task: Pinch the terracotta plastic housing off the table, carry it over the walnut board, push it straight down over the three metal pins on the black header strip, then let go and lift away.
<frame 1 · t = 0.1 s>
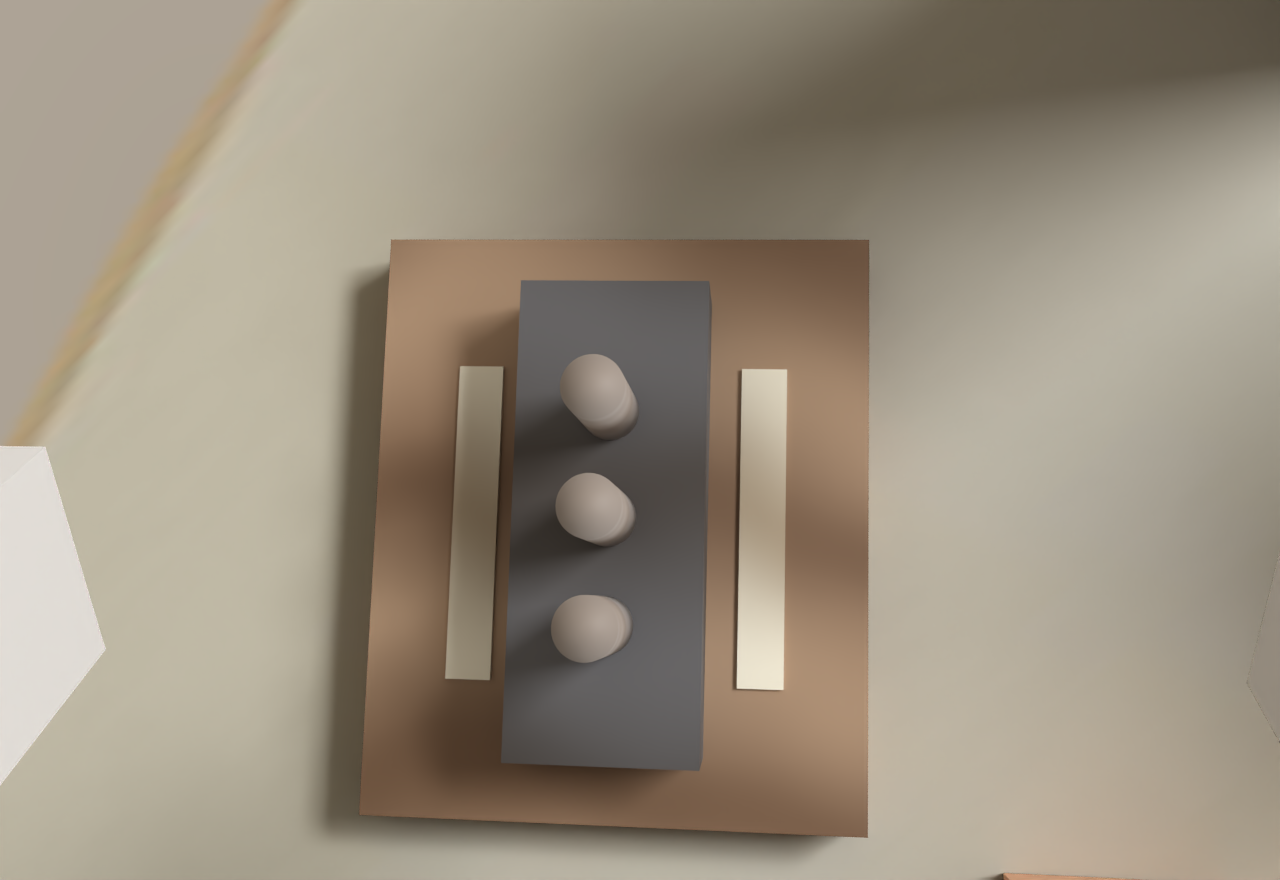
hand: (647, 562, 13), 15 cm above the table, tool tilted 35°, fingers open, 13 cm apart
pin board: (624, 527, 28), on the table
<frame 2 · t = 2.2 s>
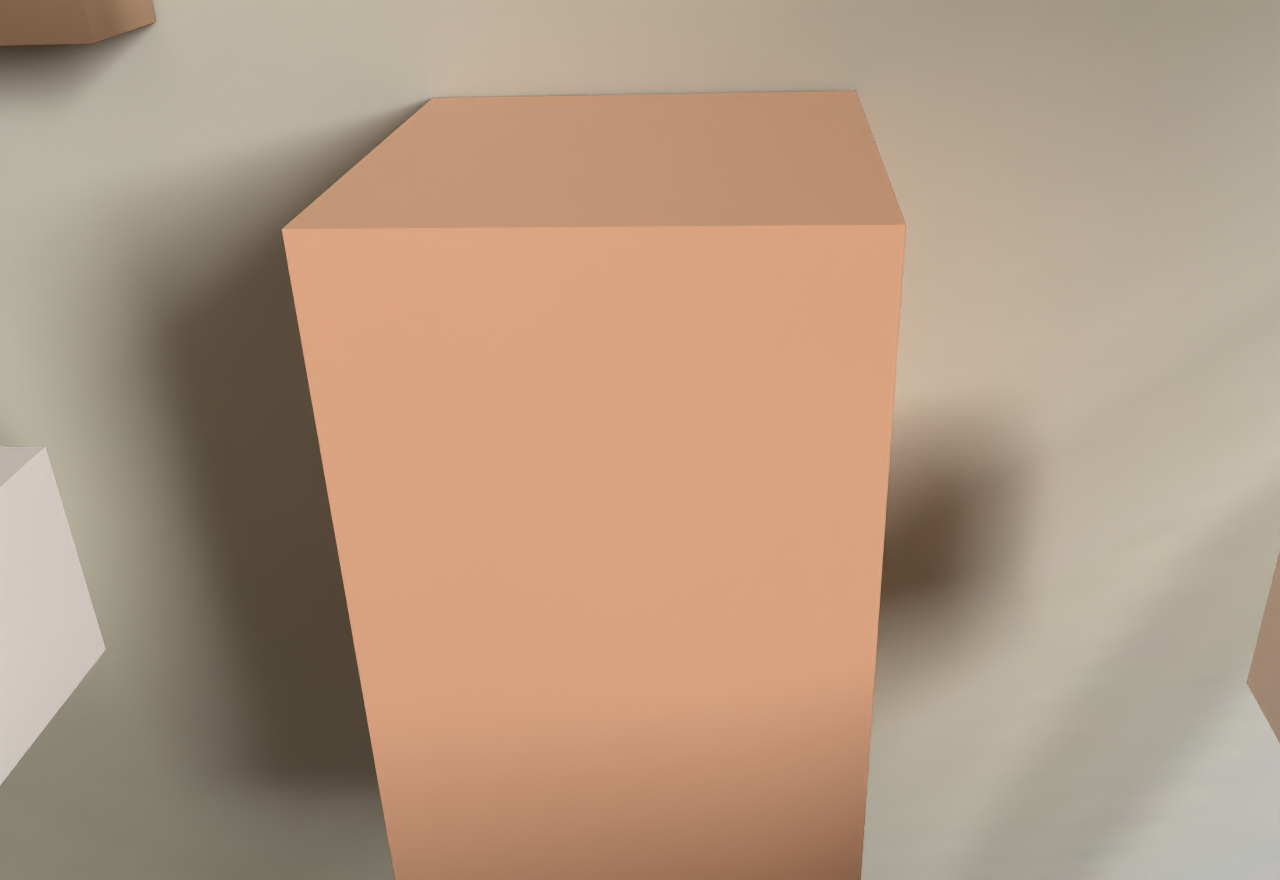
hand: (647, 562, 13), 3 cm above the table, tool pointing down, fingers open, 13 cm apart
housing: (652, 453, 16), on the table
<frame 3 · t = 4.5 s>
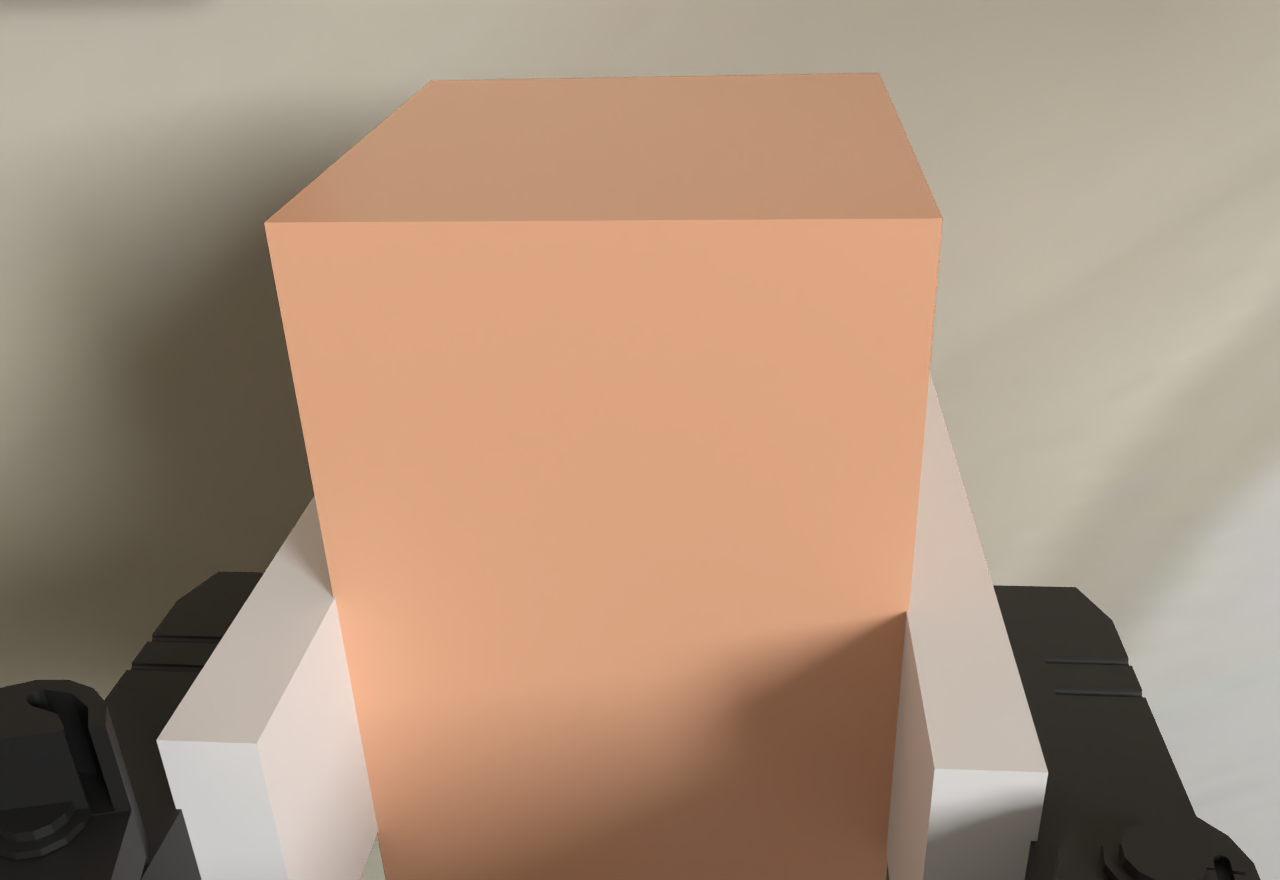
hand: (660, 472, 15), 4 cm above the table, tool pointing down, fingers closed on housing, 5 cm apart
housing: (661, 455, 15), point 4 cm above the table, touching gripper
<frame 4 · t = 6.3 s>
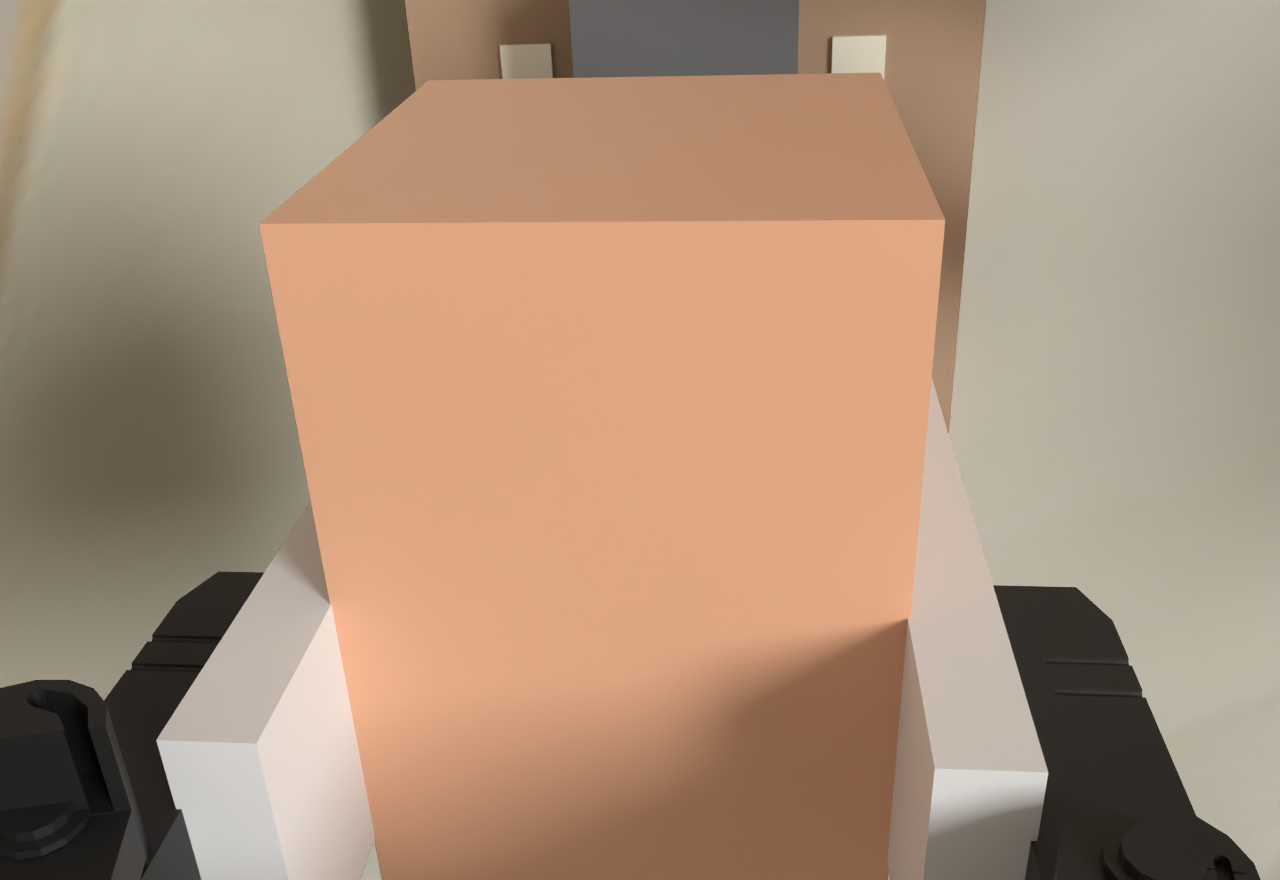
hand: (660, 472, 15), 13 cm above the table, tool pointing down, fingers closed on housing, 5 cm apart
housing: (661, 457, 15), point 12 cm above the table, touching gripper
pin board: (697, 197, 26), on the table
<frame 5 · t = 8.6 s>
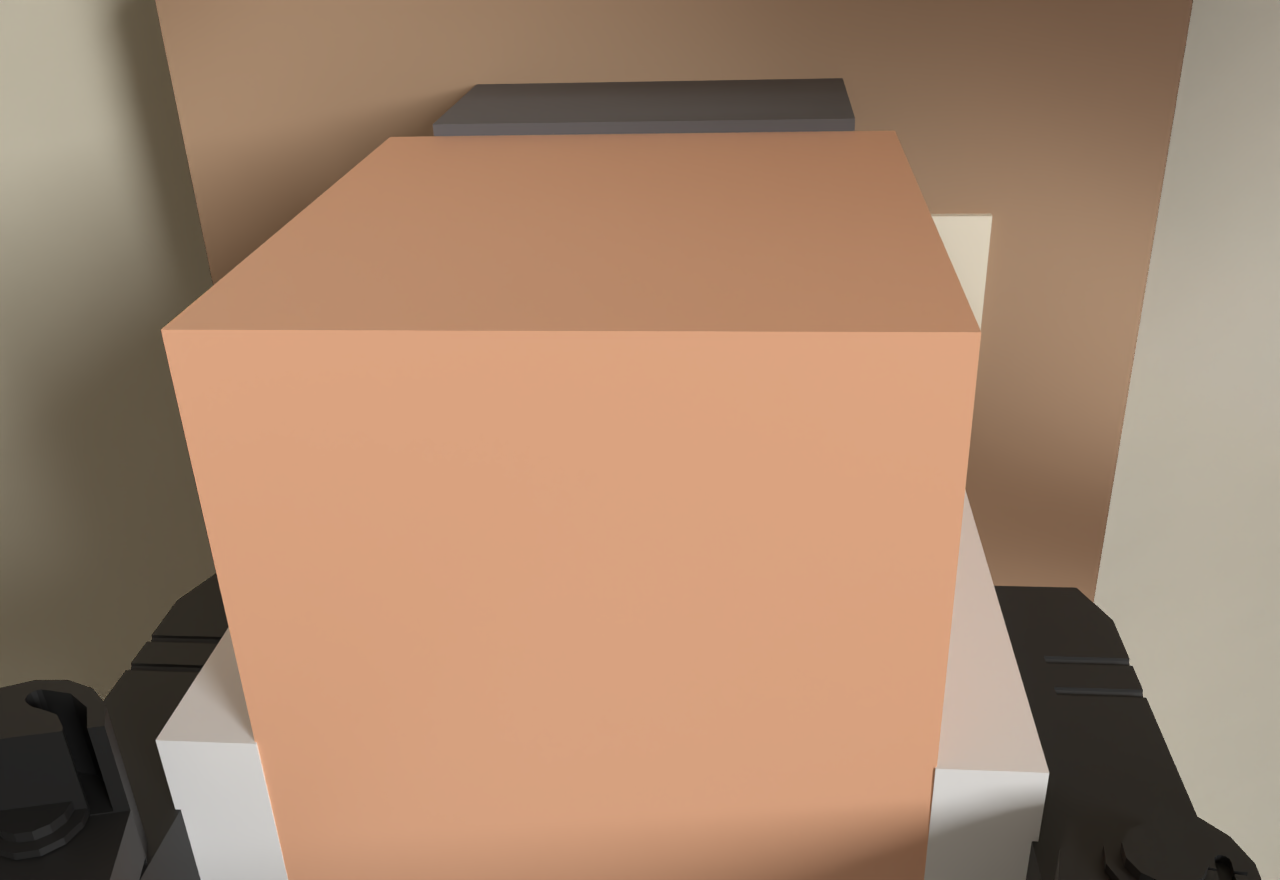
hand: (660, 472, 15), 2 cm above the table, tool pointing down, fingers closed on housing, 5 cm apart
housing: (651, 547, 13), point 3 cm above the table, touching gripper, pin board
pin board: (675, 430, 17), on the table
when the fingers open (2 cm above the table, at t = 9.3 s): housing stays where it is, resting on pin board.
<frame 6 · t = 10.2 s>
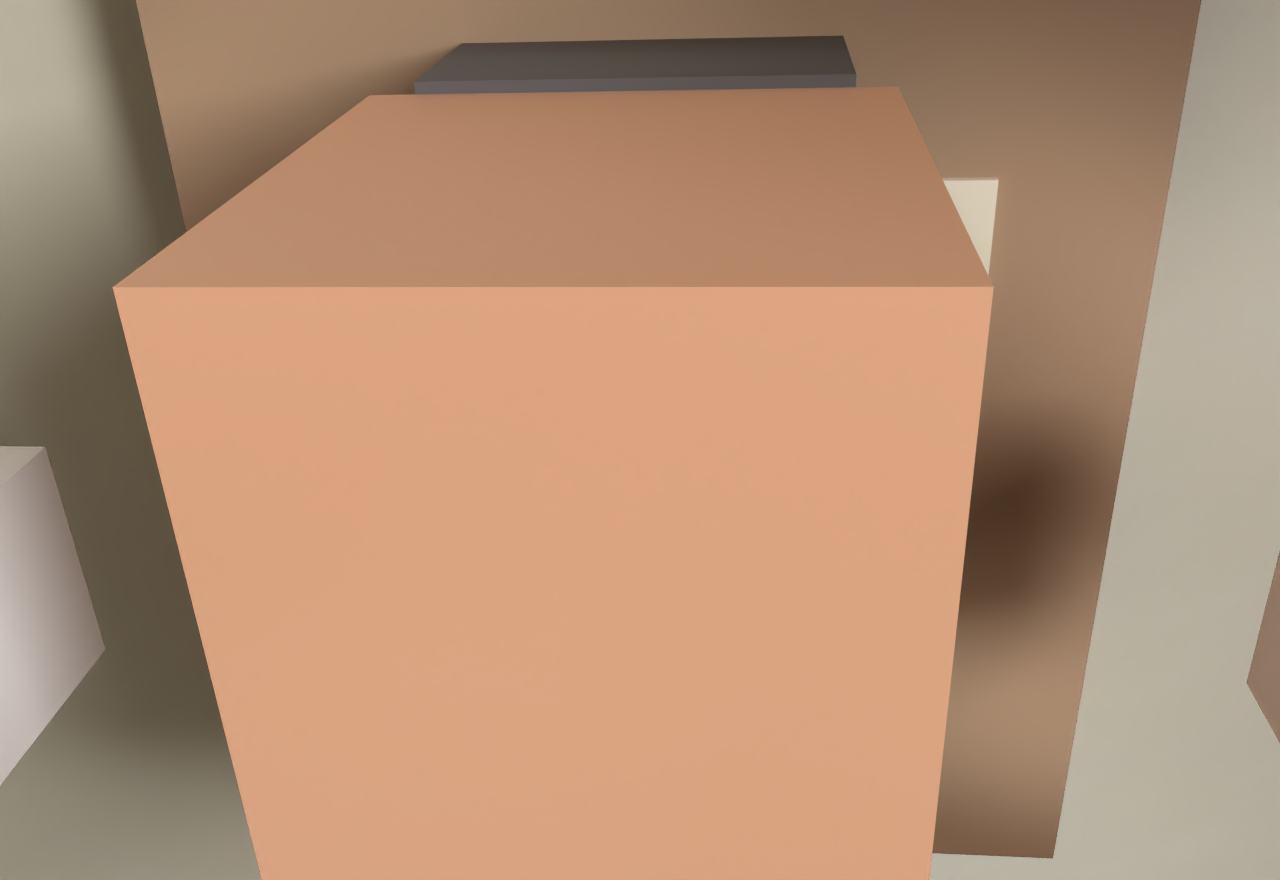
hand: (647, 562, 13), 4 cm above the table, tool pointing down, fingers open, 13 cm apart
housing: (644, 524, 13), point 3 cm above the table, touching pin board
pin board: (670, 405, 16), on the table
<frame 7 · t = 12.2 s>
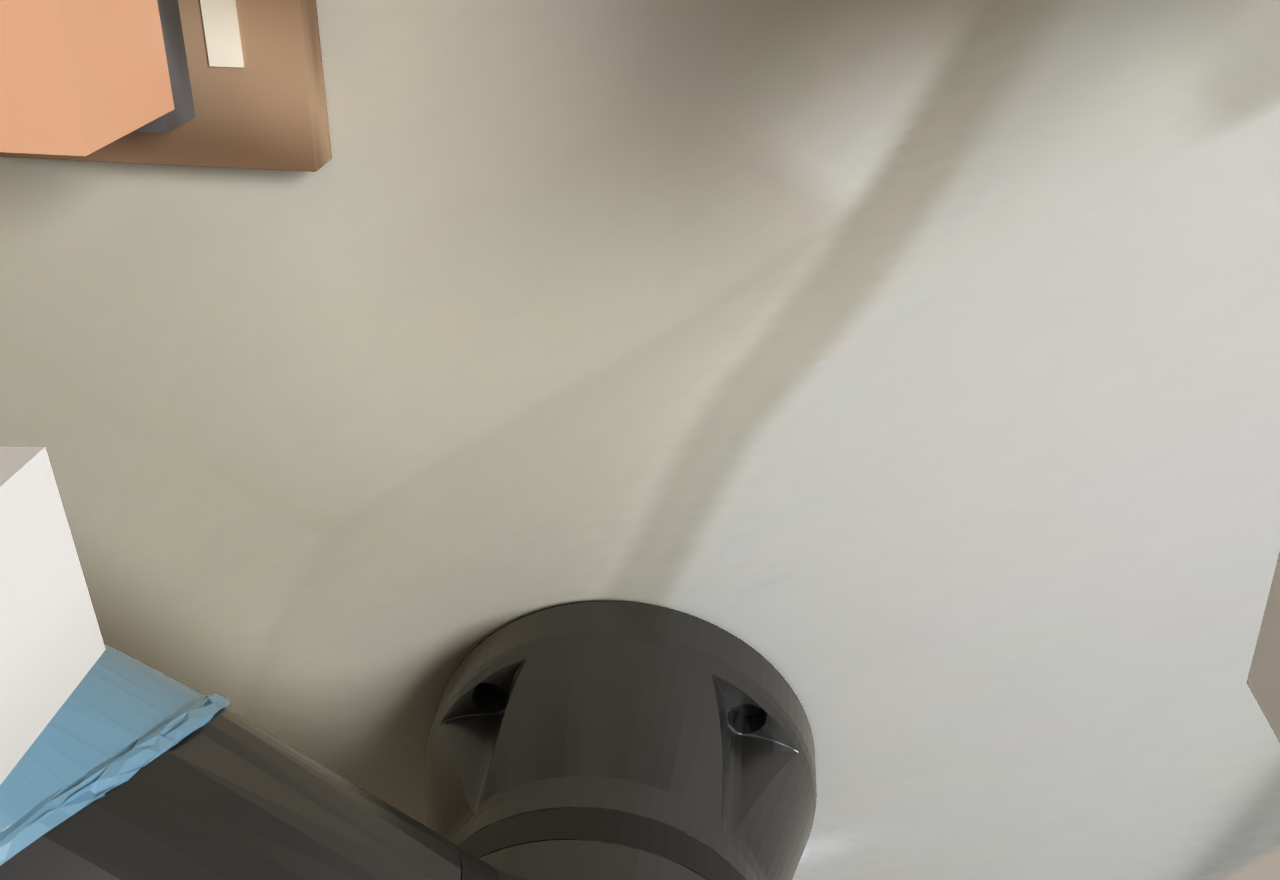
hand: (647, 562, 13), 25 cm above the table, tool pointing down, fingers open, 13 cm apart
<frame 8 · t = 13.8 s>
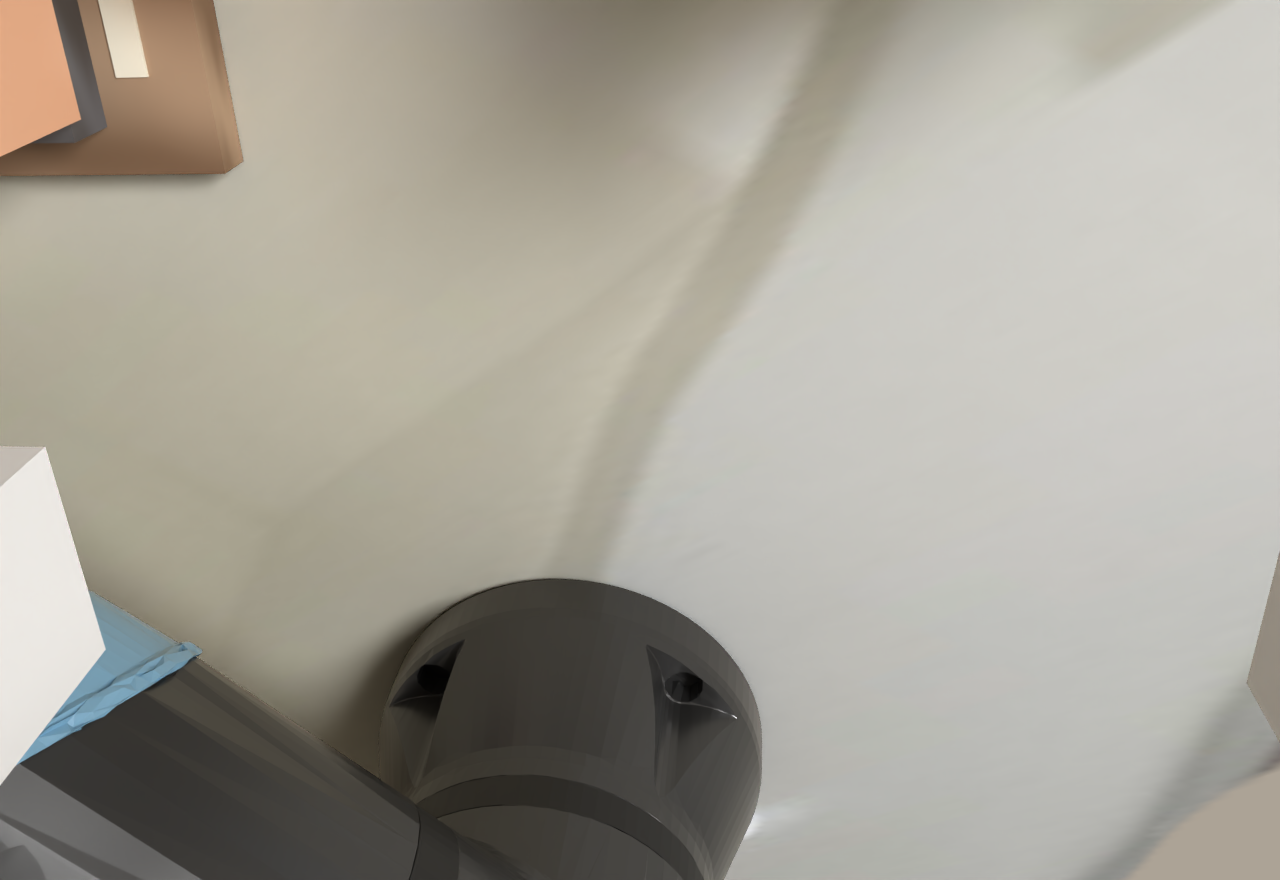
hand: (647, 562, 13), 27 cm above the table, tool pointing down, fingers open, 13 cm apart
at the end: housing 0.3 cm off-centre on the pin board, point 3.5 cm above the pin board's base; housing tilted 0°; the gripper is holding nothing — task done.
